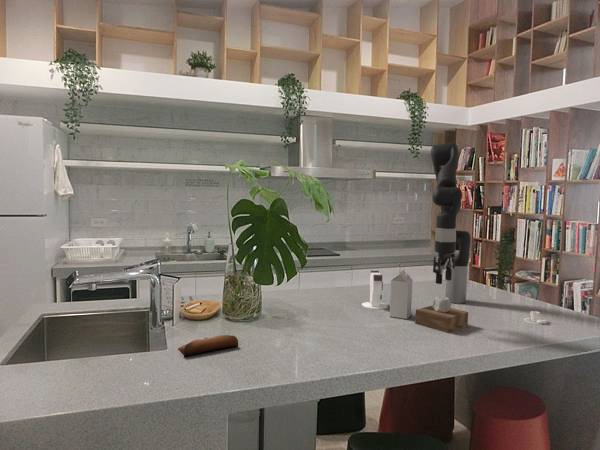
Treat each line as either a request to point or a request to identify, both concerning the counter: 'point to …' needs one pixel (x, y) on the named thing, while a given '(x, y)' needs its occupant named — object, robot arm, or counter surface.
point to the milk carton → (401, 295)
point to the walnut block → (441, 319)
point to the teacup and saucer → (536, 318)
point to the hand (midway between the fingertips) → (443, 281)
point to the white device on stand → (375, 292)
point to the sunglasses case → (208, 344)
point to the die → (441, 304)
